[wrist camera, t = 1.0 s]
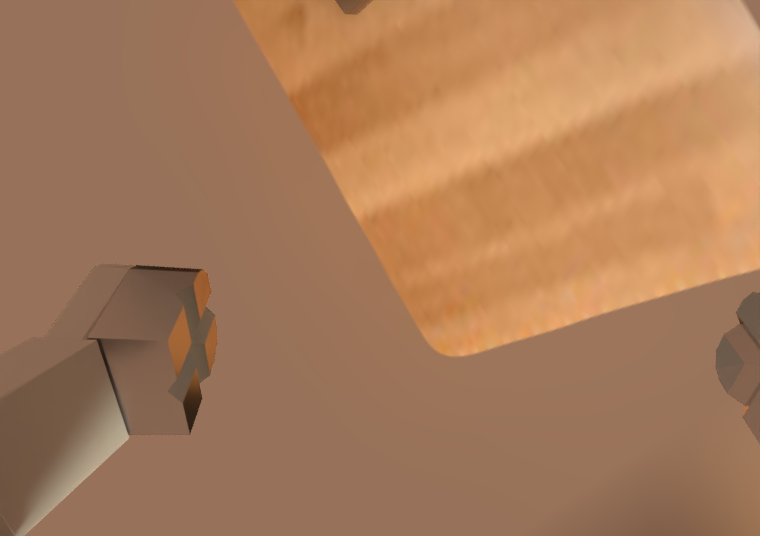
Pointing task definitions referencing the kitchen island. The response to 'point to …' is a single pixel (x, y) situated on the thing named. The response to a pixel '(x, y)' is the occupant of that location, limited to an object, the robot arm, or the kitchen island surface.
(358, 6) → the rail
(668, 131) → the kitchen island surface
